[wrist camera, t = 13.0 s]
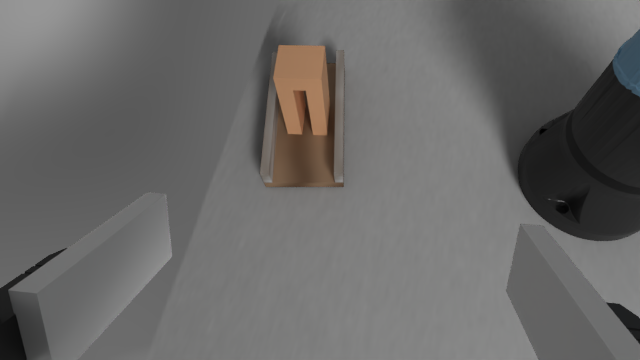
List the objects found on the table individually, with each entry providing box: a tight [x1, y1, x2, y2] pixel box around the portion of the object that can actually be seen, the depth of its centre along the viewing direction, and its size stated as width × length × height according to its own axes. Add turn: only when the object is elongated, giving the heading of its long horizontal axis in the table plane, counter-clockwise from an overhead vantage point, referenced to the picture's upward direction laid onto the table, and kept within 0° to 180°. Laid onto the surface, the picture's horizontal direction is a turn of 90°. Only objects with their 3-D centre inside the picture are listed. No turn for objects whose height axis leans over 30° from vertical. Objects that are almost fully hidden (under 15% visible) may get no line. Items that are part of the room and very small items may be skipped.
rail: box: [260, 50, 345, 187], centre depth 54 cm, size 10×18×4 cm, turn 179°
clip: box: [273, 45, 330, 135], centre depth 50 cm, size 5×4×11 cm
